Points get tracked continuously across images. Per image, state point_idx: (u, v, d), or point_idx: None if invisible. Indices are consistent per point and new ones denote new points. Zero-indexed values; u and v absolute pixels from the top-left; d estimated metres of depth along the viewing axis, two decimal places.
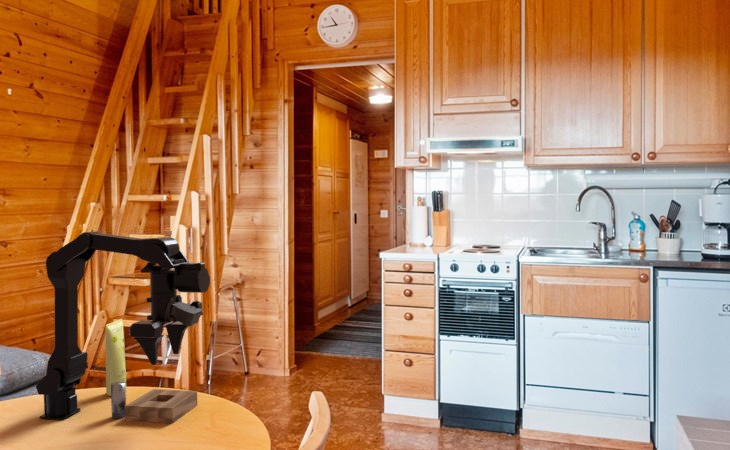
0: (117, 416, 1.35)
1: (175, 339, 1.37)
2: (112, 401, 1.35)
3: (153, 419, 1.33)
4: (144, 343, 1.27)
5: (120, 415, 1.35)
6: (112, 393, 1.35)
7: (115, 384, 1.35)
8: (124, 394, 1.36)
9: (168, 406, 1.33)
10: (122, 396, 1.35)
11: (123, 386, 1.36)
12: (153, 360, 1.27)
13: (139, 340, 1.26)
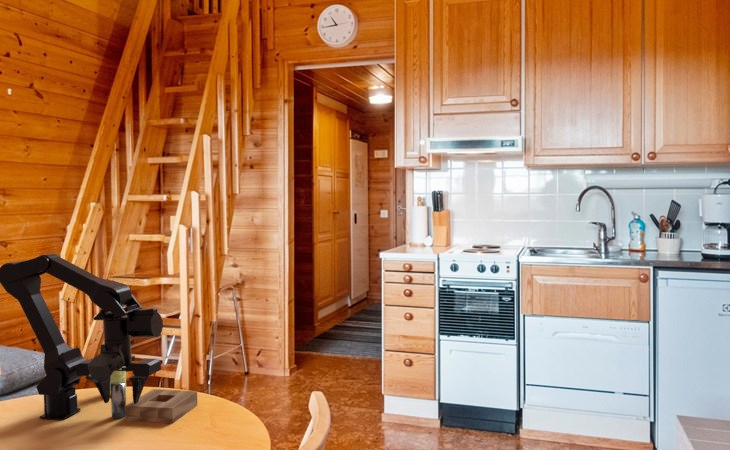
0: (117, 416, 1.35)
1: None
2: (112, 401, 1.35)
3: (153, 419, 1.33)
4: None
5: (120, 415, 1.35)
6: (112, 393, 1.35)
7: (115, 384, 1.35)
8: (124, 394, 1.36)
9: (168, 406, 1.33)
10: (122, 396, 1.35)
11: (123, 386, 1.36)
12: None
13: None
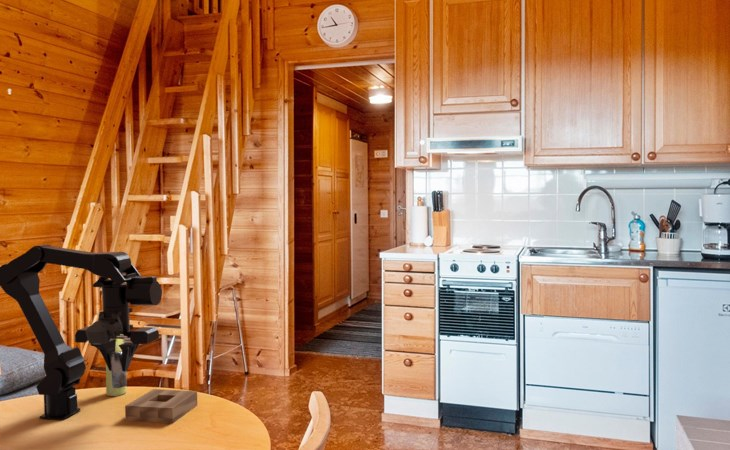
0: (117, 385, 1.35)
1: None
2: (112, 370, 1.35)
3: (153, 419, 1.33)
4: None
5: (120, 384, 1.35)
6: (111, 362, 1.35)
7: (114, 353, 1.35)
8: None
9: (168, 406, 1.33)
10: (121, 365, 1.35)
11: None
12: None
13: None
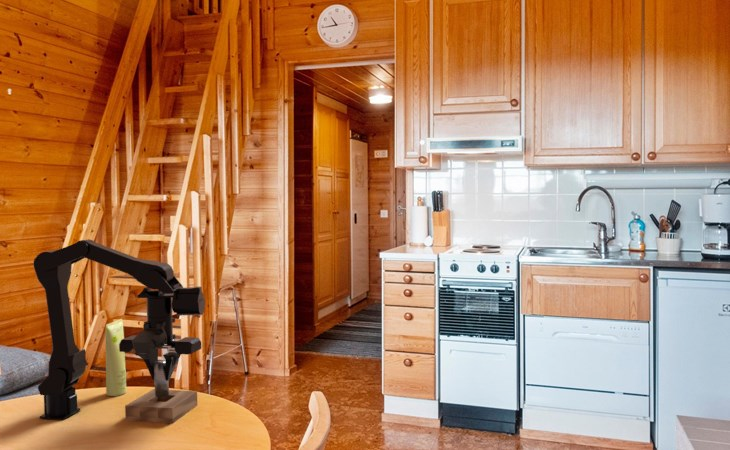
0: (160, 394, 1.37)
1: None
2: (155, 379, 1.37)
3: (153, 419, 1.33)
4: None
5: (163, 392, 1.37)
6: (155, 371, 1.37)
7: (157, 363, 1.37)
8: None
9: (168, 406, 1.33)
10: (164, 374, 1.37)
11: (165, 365, 1.38)
12: None
13: None
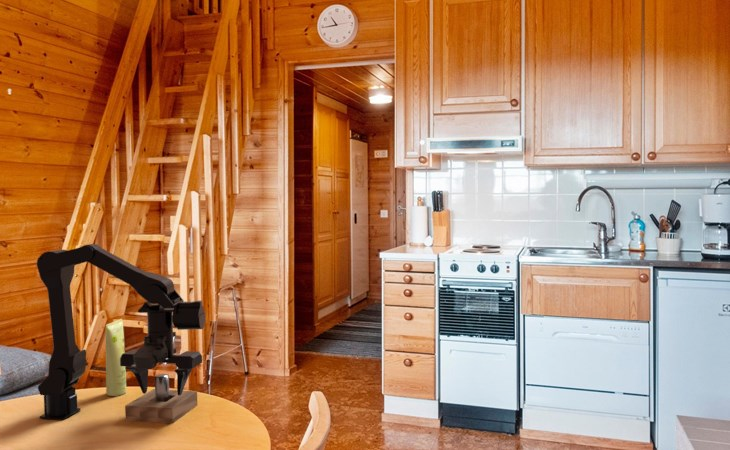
0: None
1: None
2: (156, 393, 1.37)
3: (153, 419, 1.33)
4: None
5: None
6: (156, 385, 1.37)
7: (159, 377, 1.37)
8: (168, 386, 1.38)
9: (168, 406, 1.33)
10: (166, 388, 1.37)
11: (166, 379, 1.38)
12: None
13: None
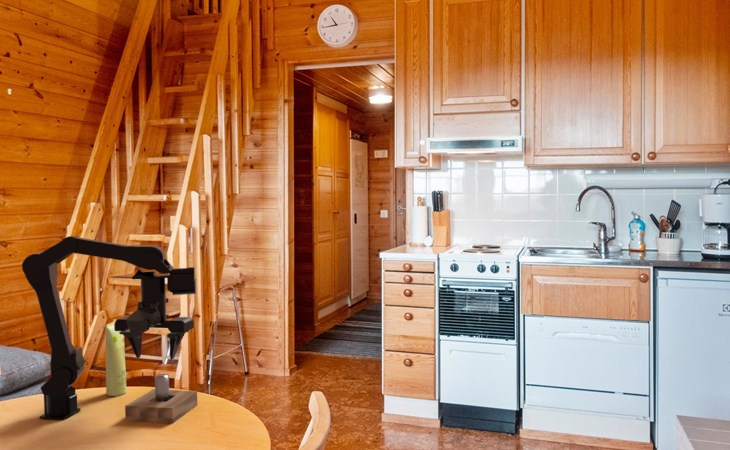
0: None
1: None
2: (156, 393, 1.37)
3: (153, 419, 1.33)
4: None
5: None
6: (156, 385, 1.37)
7: (159, 377, 1.37)
8: (168, 386, 1.38)
9: (168, 406, 1.33)
10: (166, 388, 1.37)
11: (166, 379, 1.38)
12: None
13: None
